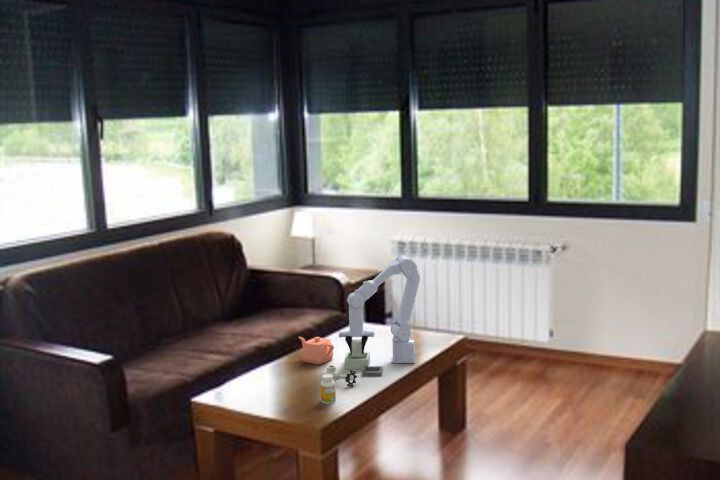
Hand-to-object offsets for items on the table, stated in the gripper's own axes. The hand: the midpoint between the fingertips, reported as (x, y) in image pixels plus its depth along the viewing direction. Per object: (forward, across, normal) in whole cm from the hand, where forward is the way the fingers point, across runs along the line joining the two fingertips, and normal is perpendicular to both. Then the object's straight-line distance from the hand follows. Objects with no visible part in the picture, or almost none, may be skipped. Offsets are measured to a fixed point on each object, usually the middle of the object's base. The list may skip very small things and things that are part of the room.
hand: (357, 353), depth 324 cm
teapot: (+5, -18, +6) cm, 20 cm away
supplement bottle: (+5, -7, -41) cm, 42 cm away
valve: (+5, -5, -23) cm, 24 cm away
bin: (+5, 0, 0) cm, 5 cm away
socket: (+5, +7, -10) cm, 13 cm away
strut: (+2, 0, 0) cm, 3 cm away
